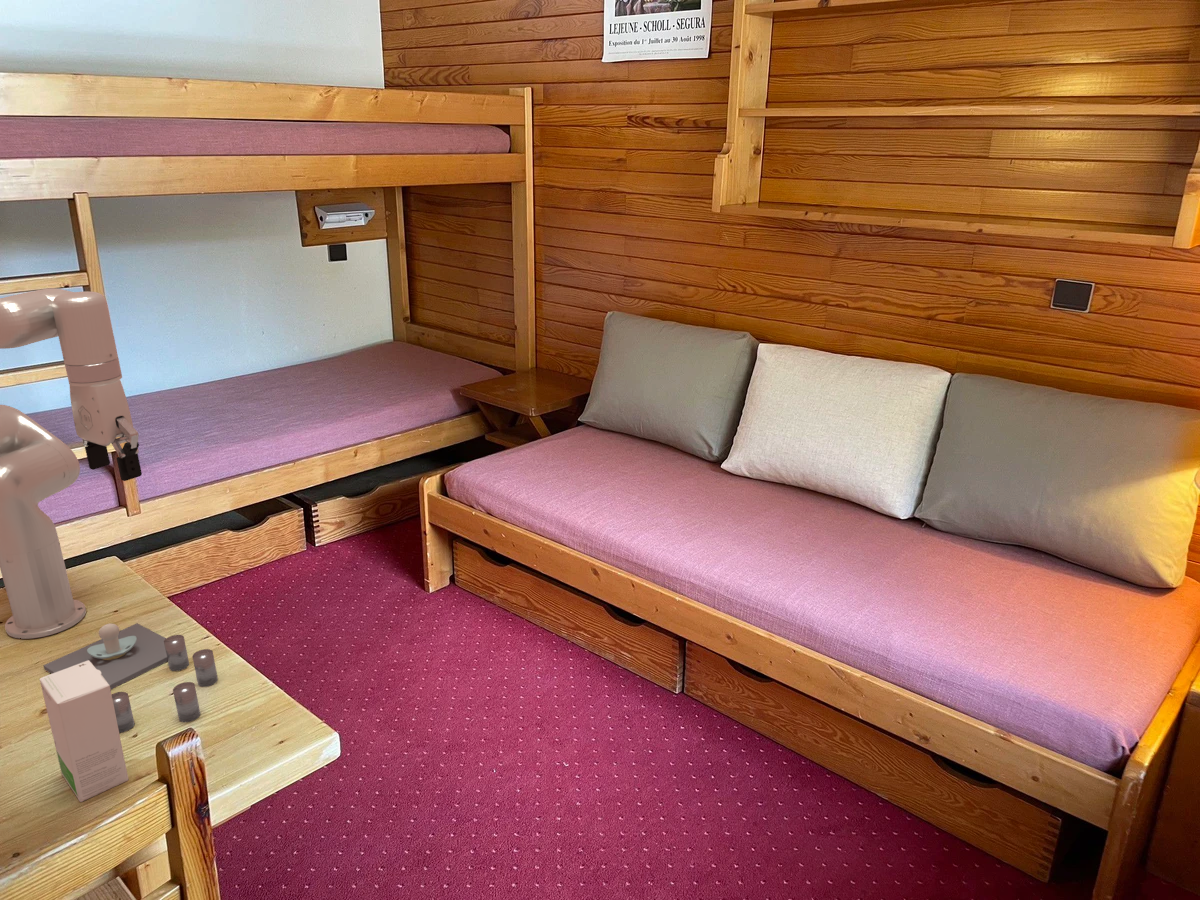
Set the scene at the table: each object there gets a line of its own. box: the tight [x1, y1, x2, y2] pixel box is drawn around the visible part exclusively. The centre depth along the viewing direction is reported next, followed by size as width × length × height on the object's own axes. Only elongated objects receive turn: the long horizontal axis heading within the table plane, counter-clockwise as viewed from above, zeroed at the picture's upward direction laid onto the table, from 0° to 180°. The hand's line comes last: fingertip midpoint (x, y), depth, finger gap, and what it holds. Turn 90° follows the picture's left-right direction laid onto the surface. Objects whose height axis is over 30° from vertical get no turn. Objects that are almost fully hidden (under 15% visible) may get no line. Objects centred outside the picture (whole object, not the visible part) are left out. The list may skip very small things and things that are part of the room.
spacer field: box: [111, 634, 219, 734], centre depth 140 cm, size 17×17×5 cm
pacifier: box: [87, 623, 137, 660], centre depth 152 cm, size 7×6×6 cm
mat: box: [42, 622, 168, 690], centre depth 152 cm, size 15×16×1 cm
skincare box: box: [38, 660, 129, 803], centre depth 122 cm, size 8×7×16 cm
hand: (115, 472), depth 150 cm, fingers open, 9 cm apart
